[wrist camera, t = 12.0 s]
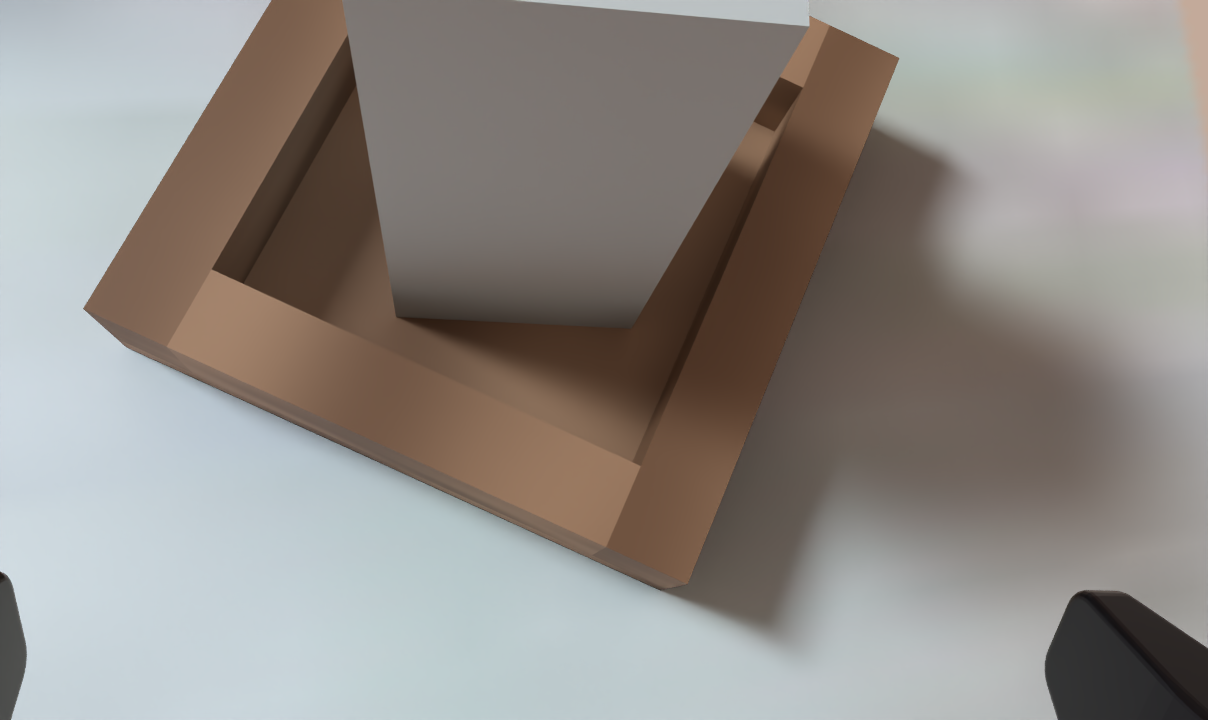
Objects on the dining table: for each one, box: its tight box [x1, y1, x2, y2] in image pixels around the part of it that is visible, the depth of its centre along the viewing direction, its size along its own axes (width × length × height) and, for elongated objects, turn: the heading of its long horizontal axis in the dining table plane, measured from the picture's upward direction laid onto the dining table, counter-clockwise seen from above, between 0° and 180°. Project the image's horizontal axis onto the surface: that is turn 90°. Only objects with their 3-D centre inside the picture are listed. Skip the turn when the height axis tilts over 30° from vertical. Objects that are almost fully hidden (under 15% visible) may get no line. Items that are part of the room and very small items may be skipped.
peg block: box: [342, 0, 809, 329], centre depth 16 cm, size 4×4×11 cm
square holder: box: [83, 0, 899, 590], centre depth 21 cm, size 11×11×2 cm
